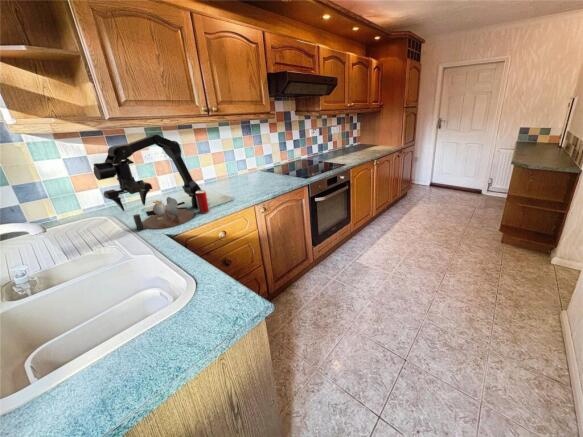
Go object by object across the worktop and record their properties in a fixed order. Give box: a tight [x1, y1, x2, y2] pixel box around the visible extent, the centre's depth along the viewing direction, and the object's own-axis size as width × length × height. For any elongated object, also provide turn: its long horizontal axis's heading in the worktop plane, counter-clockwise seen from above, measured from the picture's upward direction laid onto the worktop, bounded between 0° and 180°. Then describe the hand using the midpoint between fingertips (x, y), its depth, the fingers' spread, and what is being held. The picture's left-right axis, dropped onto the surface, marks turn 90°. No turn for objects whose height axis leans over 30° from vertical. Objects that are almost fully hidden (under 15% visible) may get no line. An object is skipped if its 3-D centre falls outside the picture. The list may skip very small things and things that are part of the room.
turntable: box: [132, 209, 195, 232], centre depth 134 cm, size 29×25×7 cm
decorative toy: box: [145, 196, 188, 220], centre depth 135 cm, size 12×10×20 cm
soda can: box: [196, 189, 210, 214], centre depth 141 cm, size 6×6×12 cm
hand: (134, 207), depth 121 cm, fingers open, 9 cm apart
